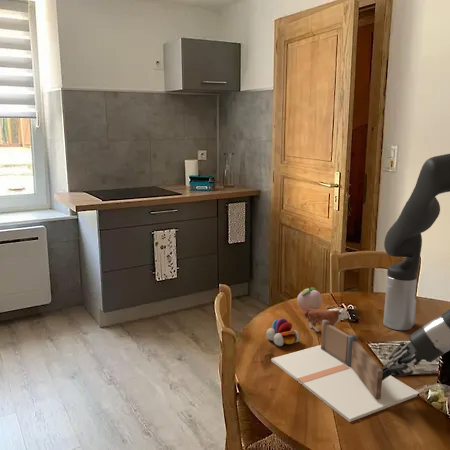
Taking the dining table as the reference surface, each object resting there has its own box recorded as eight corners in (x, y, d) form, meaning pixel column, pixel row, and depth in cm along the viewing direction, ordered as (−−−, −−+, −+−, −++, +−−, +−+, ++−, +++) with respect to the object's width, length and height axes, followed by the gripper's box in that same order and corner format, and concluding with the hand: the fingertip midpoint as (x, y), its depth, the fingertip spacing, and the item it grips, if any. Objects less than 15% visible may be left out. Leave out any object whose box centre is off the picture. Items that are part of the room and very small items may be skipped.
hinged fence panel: (350, 366, 131) (352, 341, 129) (354, 365, 131) (356, 340, 129) (375, 399, 115) (378, 371, 114) (380, 398, 116) (382, 370, 114)
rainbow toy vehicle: (280, 350, 143) (280, 328, 141) (262, 337, 151) (263, 316, 149) (302, 344, 146) (303, 322, 145) (285, 332, 155) (285, 311, 153)
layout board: (333, 343, 147) (335, 315, 145) (418, 395, 119) (422, 360, 117) (271, 361, 136) (272, 330, 134) (349, 422, 109) (352, 384, 107)
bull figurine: (347, 335, 153) (349, 311, 151) (305, 331, 155) (306, 308, 154) (347, 329, 157) (348, 306, 155) (306, 325, 160) (307, 303, 158)
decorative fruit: (315, 320, 164) (316, 292, 162) (293, 315, 168) (294, 288, 166) (325, 311, 172) (326, 285, 170) (303, 306, 176) (305, 280, 174)
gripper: (421, 315, 119) (367, 353, 125) (427, 338, 106) (366, 379, 113) (442, 338, 118) (387, 374, 125) (450, 363, 106) (388, 403, 112)
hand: (377, 376), depth 119 cm, fingers closed
